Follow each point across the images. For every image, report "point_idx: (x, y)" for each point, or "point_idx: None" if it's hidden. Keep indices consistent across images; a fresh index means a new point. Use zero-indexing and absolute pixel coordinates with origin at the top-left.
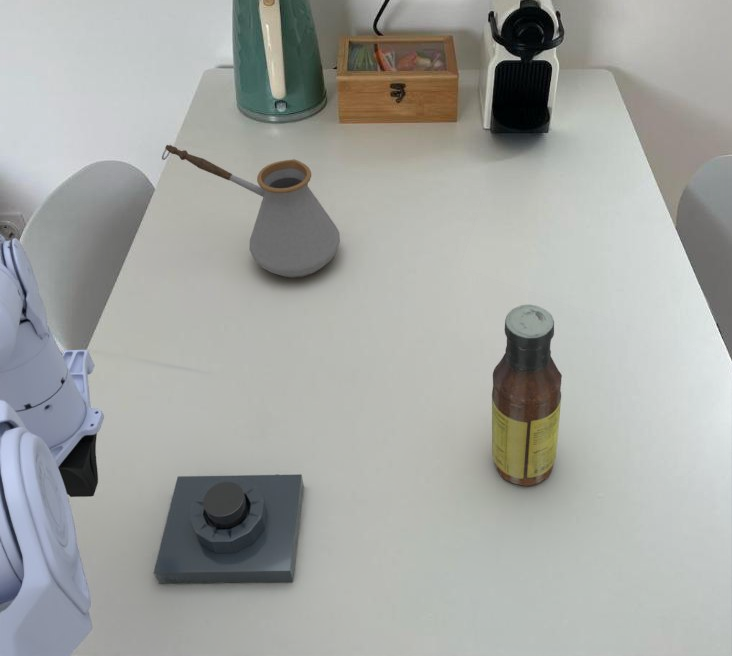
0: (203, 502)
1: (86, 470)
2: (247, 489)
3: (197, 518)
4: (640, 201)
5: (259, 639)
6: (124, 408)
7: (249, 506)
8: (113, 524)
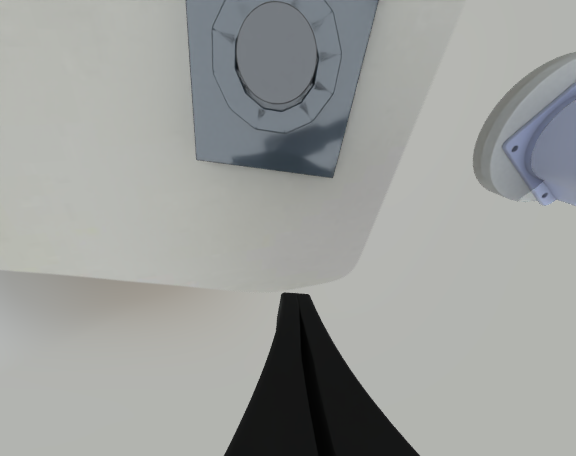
0: (280, 103)
1: (347, 384)
2: (237, 13)
3: (287, 120)
4: None
5: (439, 31)
6: (95, 231)
7: None
8: (250, 222)
